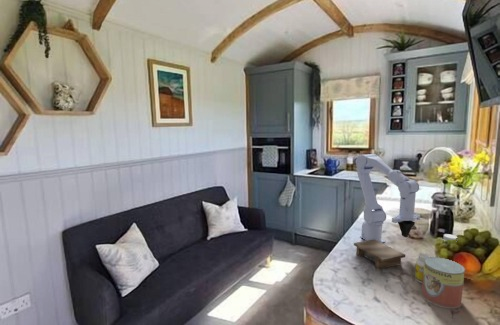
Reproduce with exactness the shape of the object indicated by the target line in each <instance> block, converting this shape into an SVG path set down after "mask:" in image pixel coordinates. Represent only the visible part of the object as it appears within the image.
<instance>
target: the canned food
mask: <svg viewBox="0 0 500 325" xmlns="http://www.w3.org/2000/svg"><path fill="white" fill-rule="evenodd" d="M424 262H425V263H424V275H423V283H422V287H421V295H422V297H423V298H424V299H425V300H426V301H428V302H429V303H431V304H433V305H436V306H438V307H441V308H445V309H458V308H460V307H462V304H463V302H462V299H463V289H464V280H465V272H466V268H465V267H464V266H463V265H462V264H460V263H459V262H458V263H457V262H455V261H452V260H449V259H445V258H440V257H439V256H431V257H428V258H426V259H425V260H424Z"/></svg>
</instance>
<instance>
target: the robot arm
mask: <svg viewBox="0 0 500 325" xmlns="http://www.w3.org/2000/svg"><path fill="white" fill-rule="evenodd" d="M355 166H356V173H357V177H358V180H359V184H360V188H361V191H362V195H363V198H364V202H365V205H366V206H365V207H364V209H362V210H363V222H362V224H361V232H360V233H361V236H359V238H361V239H362V238H363V240H364V239H365V240H364V241H368V240H374V239H375V240H377V241H379V242H381V243H385V242H386V240H384V239H382V238H383V237H382V234H383V224H384V222H386V219H387V212H385V211H384V208H383V206H382V205H381V204H379V203H378V200H377V199H378V198H377V197H376V193H375V190H374V186H373V182H372V179H371V176H370V173H371V171H373V169H374V168H376V169H377V170H379V171H380V172H382V173H383V174H384V175H386V176H387V180H389V181H390V182H391V183H392V184H394V186H396V187H397V189H398V191H399V196H400V198H399V199H400V200H399V212H398V215H396V216H394V217H393V216H392V217H391V223H393V224H398V227H399V228H400V232H401V233H400V234H401V236H402V237H404V238H409V235H410V233H411V230H412V228H413V227H414V226H415V224H416V222H415V221H416V220H421V215H420V214H415V205H416V195H417V192H418V191H419V190H420V183H419V182H418V181H416V180H417V179H410V178H409V177H408V176H406V175H405V174H403V173H402V171H401V170H398V169H392V168H391V167H390V166H389V165H388V164H386V163H385V162H384V161H383V160H382V159H381V157H380V156H378V155H377V154H375V153H370V154H369V153H368V154H359V155H357V157H356V159H355Z"/></svg>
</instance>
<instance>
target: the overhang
mask: <svg viewBox="0 0 500 325" xmlns="http://www.w3.org/2000/svg"><path fill="white" fill-rule="evenodd" d="M353 246H355V247H356V250H355V252H356V253H355V255H356V256H357V257H359V256H360V257H365V256H366V258H367V259H369V260H370V261H371V262H374V263H375V265H374V266H375V268H376V269H377V270H380V269H384V268H389V267H393V266H398V265H401V263H402V259H404V258H406V254H404V253H402V252H400V251H399V250H397V249H395V248H393V247H391V246H389V245H387V244H385V243H384V242H382V243H381V242H379V241H377V240H375V239H374V240H368V241H366V240H363V241H359V242H357V241H356V242H353Z"/></svg>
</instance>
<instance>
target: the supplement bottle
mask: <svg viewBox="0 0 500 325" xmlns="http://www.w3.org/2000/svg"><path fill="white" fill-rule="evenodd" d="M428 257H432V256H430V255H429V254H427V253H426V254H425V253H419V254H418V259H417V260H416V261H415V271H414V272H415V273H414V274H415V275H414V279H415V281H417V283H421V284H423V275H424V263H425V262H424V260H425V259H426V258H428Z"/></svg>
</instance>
